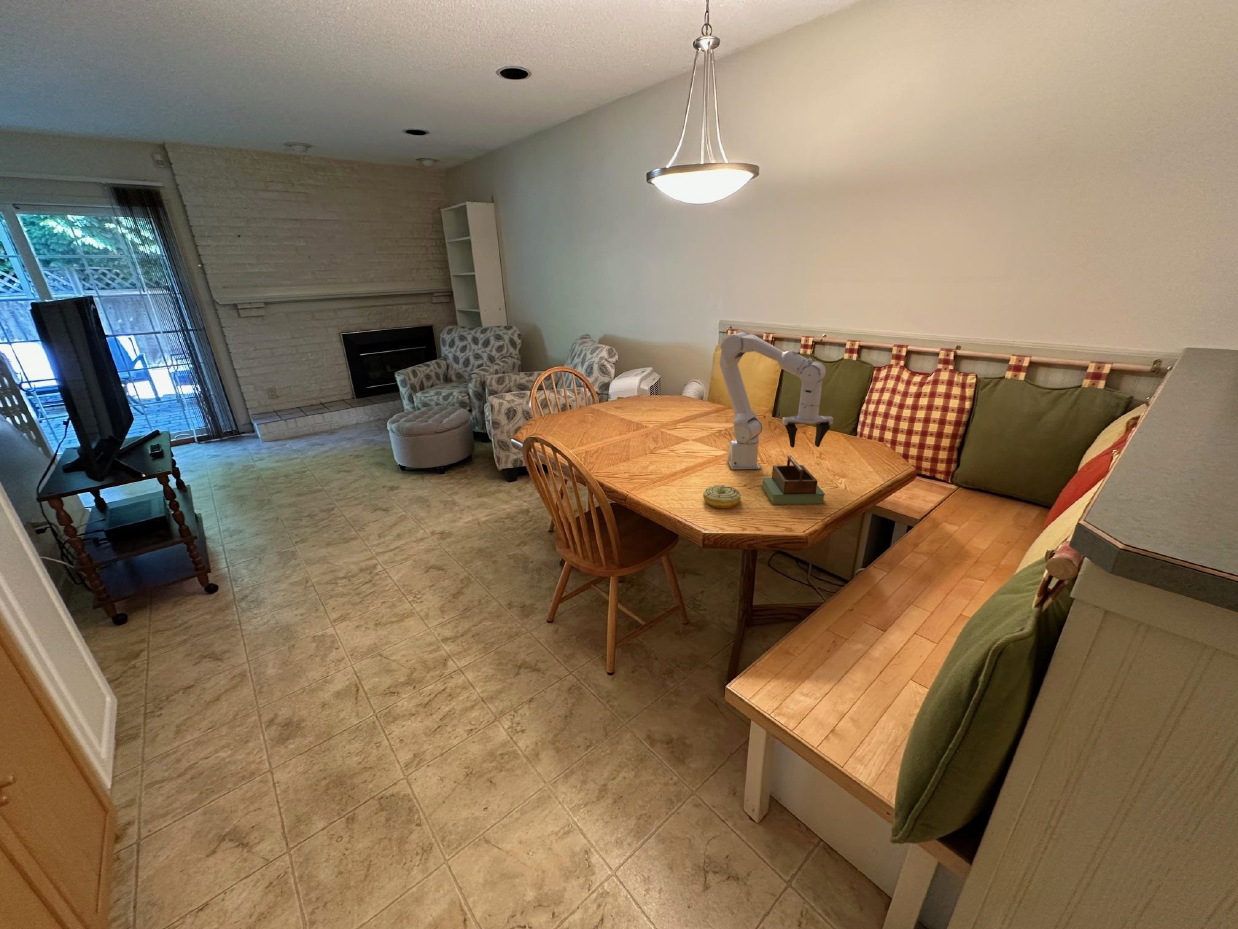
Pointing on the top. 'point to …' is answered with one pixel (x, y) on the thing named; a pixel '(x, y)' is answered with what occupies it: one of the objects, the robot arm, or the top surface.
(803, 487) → the basket
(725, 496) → the decorated donut
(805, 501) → the green flat block
